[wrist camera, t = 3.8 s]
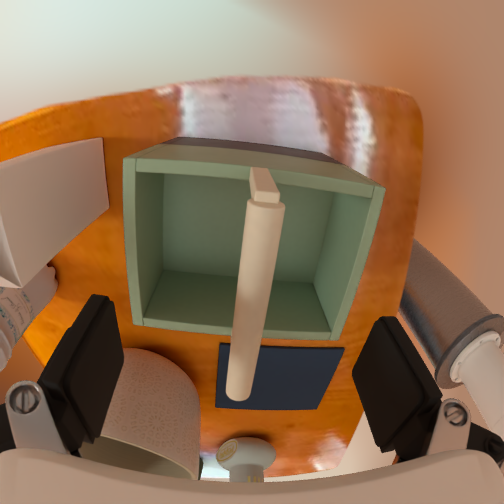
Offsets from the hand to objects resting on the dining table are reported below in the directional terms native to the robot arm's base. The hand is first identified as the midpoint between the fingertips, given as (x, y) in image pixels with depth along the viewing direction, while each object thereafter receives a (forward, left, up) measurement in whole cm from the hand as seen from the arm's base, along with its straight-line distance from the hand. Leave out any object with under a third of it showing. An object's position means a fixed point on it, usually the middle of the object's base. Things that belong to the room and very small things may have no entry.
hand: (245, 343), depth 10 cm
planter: (+11, +26, -19) cm, 34 cm away
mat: (-7, +25, -19) cm, 32 cm away
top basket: (0, 0, -12) cm, 12 cm away
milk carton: (+17, -1, -19) cm, 25 cm away
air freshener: (-5, +45, -19) cm, 49 cm away
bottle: (+24, +11, -19) cm, 32 cm away
